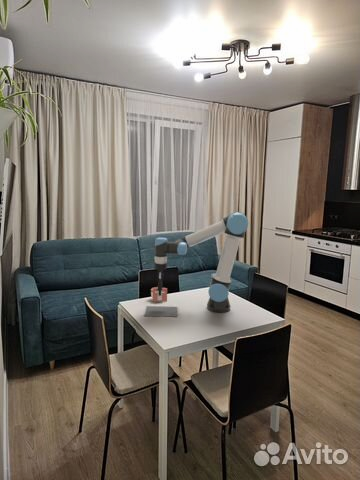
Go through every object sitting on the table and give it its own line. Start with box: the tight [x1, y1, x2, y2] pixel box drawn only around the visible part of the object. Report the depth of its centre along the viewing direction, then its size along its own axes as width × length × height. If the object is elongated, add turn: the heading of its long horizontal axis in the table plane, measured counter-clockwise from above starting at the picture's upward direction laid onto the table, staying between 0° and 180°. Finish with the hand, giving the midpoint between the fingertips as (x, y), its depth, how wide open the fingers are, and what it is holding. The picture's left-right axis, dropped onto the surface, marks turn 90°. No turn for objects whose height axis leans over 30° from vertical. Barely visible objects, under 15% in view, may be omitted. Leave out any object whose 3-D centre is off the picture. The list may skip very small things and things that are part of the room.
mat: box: [143, 305, 178, 318], centre depth 204 cm, size 20×16×1 cm
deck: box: [152, 287, 168, 302], centre depth 203 cm, size 2×9×8 cm, turn 91°
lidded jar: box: [150, 286, 161, 302], centre depth 225 cm, size 11×11×9 cm
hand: (159, 299), depth 203 cm, fingers closed on deck, 2 cm apart
